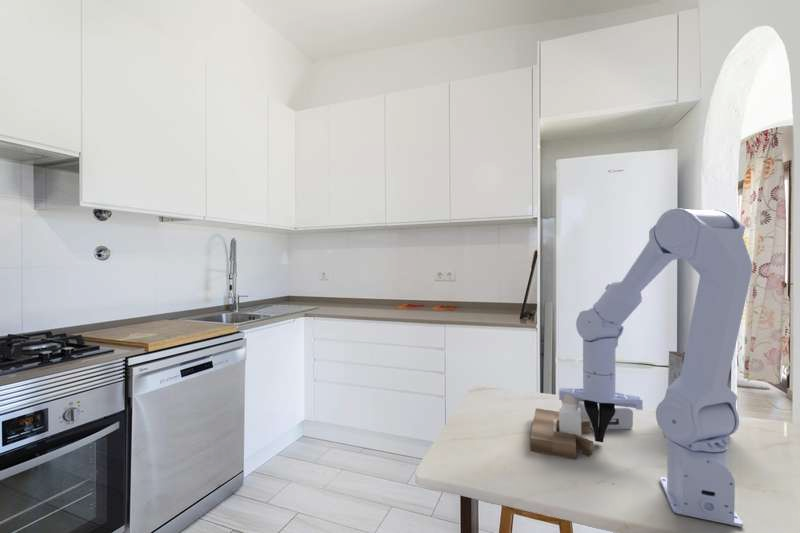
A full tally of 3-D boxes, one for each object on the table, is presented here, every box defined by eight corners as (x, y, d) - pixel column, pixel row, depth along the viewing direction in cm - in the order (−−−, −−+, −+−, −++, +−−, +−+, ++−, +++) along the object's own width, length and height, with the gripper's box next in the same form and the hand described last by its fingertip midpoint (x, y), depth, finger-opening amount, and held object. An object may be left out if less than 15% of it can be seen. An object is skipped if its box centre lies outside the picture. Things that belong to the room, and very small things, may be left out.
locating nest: (594, 462, 70) (594, 448, 70) (530, 450, 74) (530, 437, 74) (589, 427, 85) (589, 415, 85) (535, 419, 89) (535, 408, 89)
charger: (596, 404, 99) (632, 430, 84) (560, 404, 99) (590, 430, 84) (596, 385, 99) (633, 408, 84) (560, 386, 98) (590, 408, 83)
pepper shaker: (559, 434, 81) (559, 389, 81) (580, 437, 80) (580, 391, 80) (559, 442, 78) (559, 395, 78) (581, 445, 76) (581, 397, 76)
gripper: (637, 369, 77) (637, 437, 78) (559, 362, 83) (559, 425, 83) (644, 379, 71) (644, 453, 71) (559, 371, 76) (559, 439, 77)
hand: (598, 439), depth 77 cm, fingers closed
